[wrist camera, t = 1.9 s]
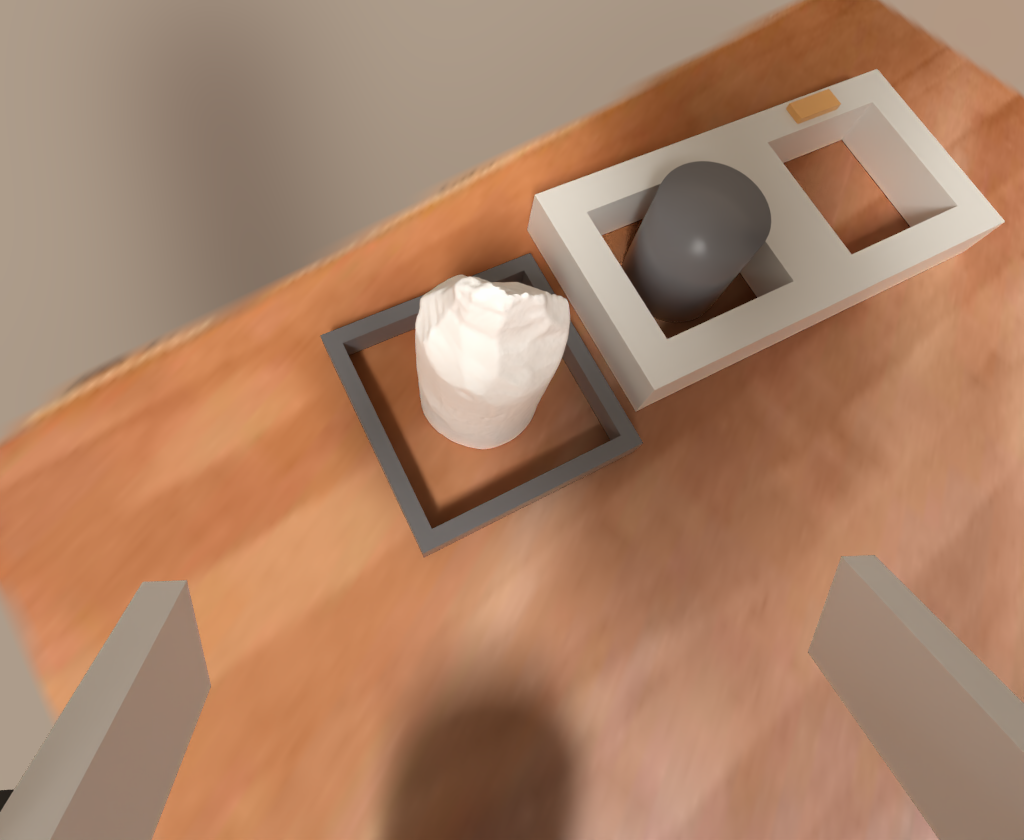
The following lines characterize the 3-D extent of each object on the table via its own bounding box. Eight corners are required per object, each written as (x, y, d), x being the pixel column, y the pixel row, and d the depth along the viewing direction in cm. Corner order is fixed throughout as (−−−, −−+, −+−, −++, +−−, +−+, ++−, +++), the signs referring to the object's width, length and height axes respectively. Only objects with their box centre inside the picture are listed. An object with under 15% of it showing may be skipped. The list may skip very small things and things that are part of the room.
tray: (633, 451, 31) (642, 443, 30) (423, 557, 28) (423, 553, 27) (526, 268, 34) (530, 253, 33) (325, 348, 31) (320, 335, 30)
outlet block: (962, 252, 38) (1054, 185, 32) (635, 411, 32) (677, 364, 26) (846, 107, 41) (912, 23, 35) (527, 230, 35) (543, 152, 29)
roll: (579, 195, 21) (606, 343, 20) (530, 346, 33) (545, 448, 31) (402, 200, 20) (415, 355, 19) (415, 353, 32) (423, 459, 30)
